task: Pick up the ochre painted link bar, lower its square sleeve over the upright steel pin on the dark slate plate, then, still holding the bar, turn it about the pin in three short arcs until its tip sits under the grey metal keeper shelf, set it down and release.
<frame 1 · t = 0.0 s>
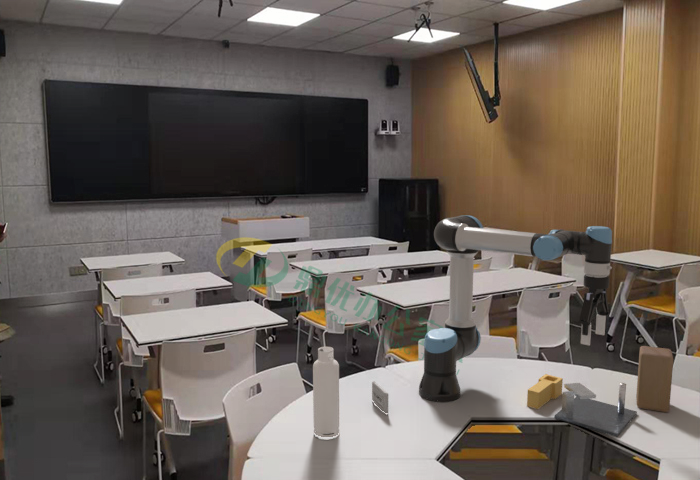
hand: (592, 339, 190), 28 cm above the table, fingers open, 13 cm apart
link: (532, 407, 204), on the table
bottle: (326, 434, 185), on the table
keeper: (578, 418, 196), resting on base
cassette: (380, 408, 204), on the table
base: (620, 414, 198), on the table
wooden block: (652, 406, 205), on the table
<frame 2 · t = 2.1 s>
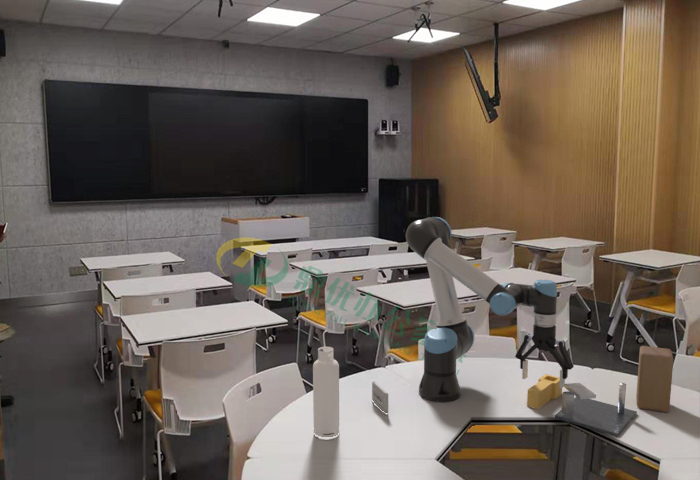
hand: (543, 382, 208), 7 cm above the table, fingers open, 13 cm apart
nothing on the table moved.
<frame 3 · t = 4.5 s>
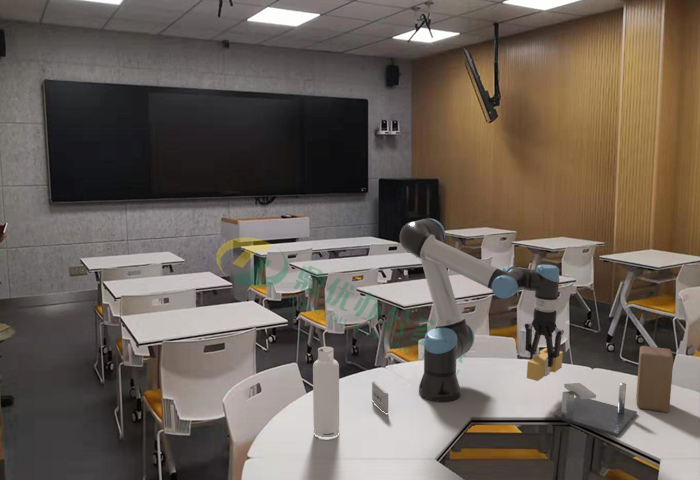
hand: (540, 372, 208), 10 cm above the table, fingers closed on link, 4 cm apart
link: (532, 379, 203), point 10 cm above the table, touching gripper
everything else where it was.
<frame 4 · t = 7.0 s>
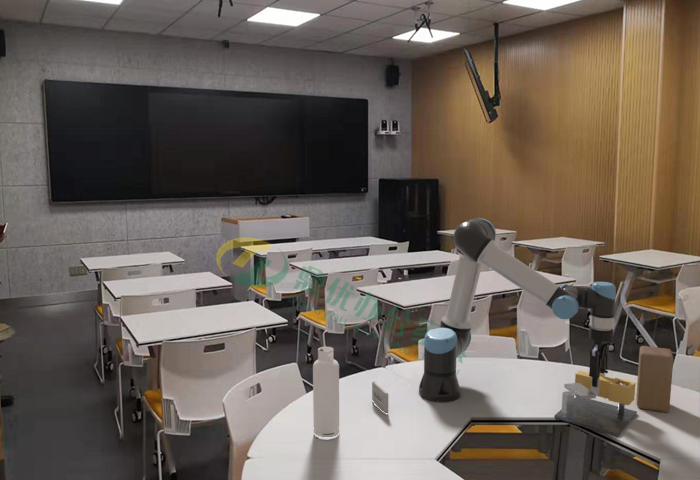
hand: (597, 392, 202), 6 cm above the table, fingers closed on link, 4 cm apart
link: (576, 388, 207), point 5 cm above the table, touching gripper
everything else where it was.
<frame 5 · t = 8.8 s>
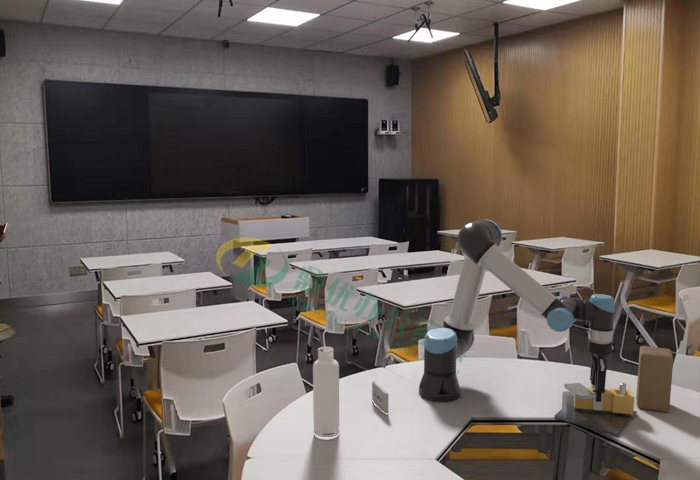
hand: (595, 406, 200), 2 cm above the table, fingers closed on link, 4 cm apart
link: (573, 405, 201), point 2 cm above the table, touching gripper
everything else where it was.
when the fingers open (2 cm above the table, at t = 10.1 s): link stays where it is, resting on base.
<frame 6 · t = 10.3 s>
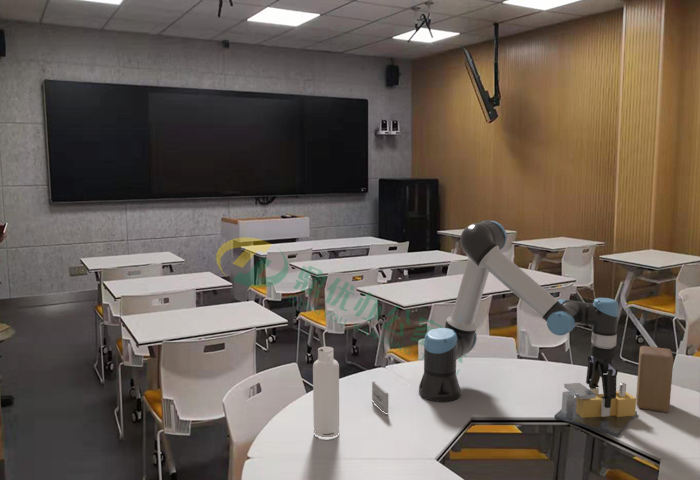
hand: (599, 411, 197), 2 cm above the table, fingers open, 6 cm apart
link: (579, 415, 196), point 1 cm above the table, touching base
everything else where it was.
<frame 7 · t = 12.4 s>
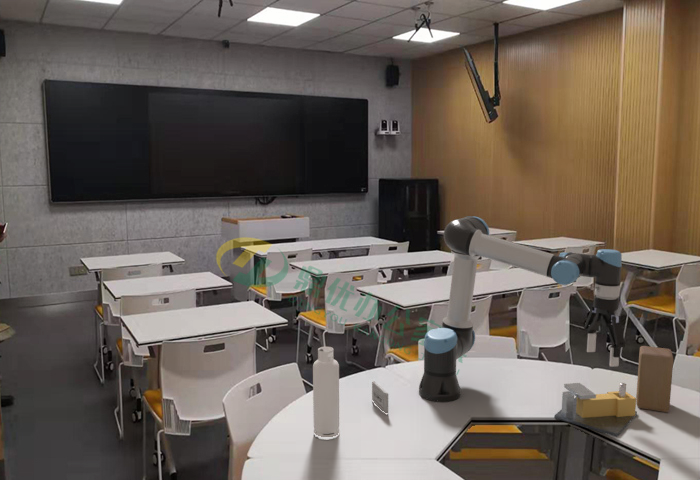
hand: (601, 358, 195), 20 cm above the table, fingers open, 13 cm apart
nothing on the table moved.
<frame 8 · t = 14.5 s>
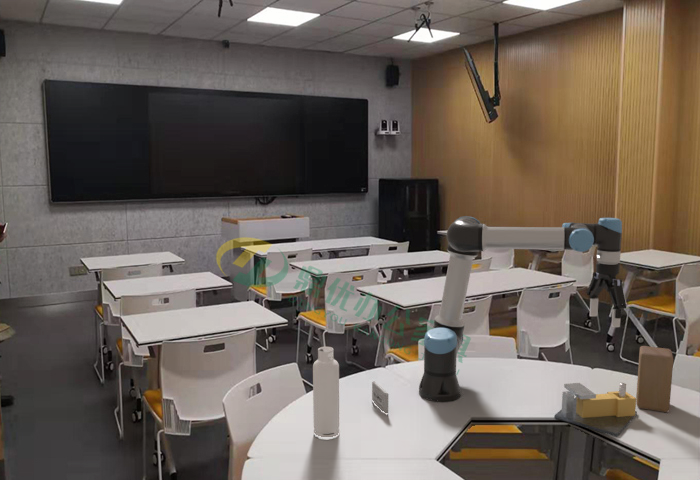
hand: (604, 321, 207), 29 cm above the table, fingers open, 13 cm apart
nothing on the table moved.
at the end: link inside the target area on the base (1.0 cm from its centre), point 1.0 cm above the base's base; link 0.4 cm from the keeper (horizontally); link tilted 0° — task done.
